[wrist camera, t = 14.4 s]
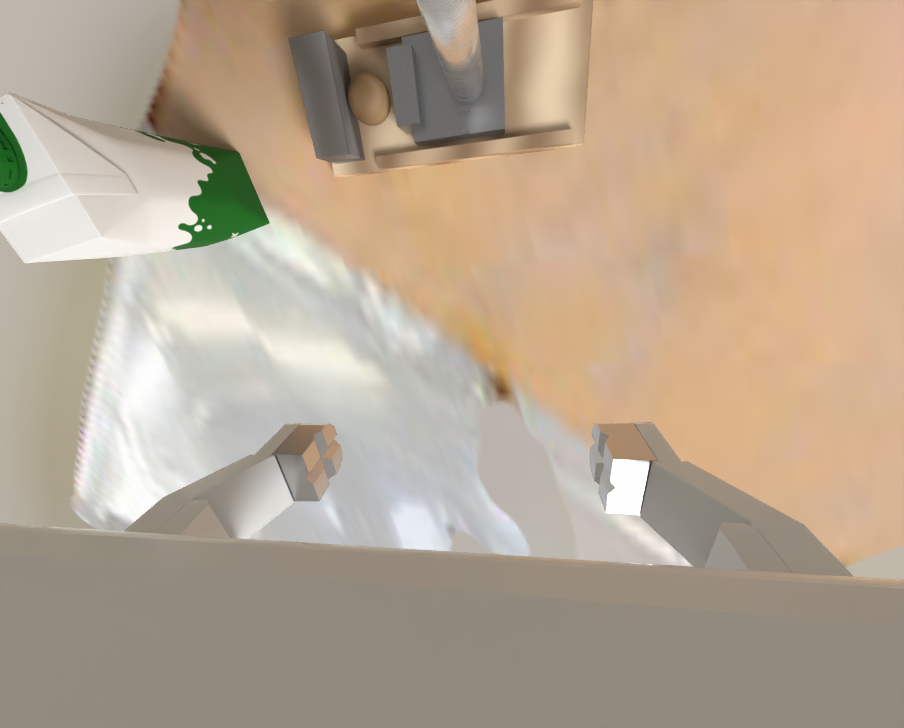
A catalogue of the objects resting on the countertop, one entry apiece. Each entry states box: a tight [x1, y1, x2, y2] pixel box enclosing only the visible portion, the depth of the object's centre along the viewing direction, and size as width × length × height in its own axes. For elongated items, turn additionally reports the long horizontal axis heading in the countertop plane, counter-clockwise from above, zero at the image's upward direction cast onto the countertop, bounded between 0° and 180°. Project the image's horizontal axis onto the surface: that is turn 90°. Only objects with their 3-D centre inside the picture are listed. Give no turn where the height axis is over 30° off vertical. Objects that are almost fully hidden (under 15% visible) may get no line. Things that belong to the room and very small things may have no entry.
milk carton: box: [0, 93, 269, 263], centre depth 27 cm, size 9×9×20 cm
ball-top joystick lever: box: [386, 0, 505, 145], centre depth 19 cm, size 9×7×21 cm
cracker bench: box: [289, 0, 593, 177], centre depth 27 cm, size 24×10×6 cm, turn 96°
